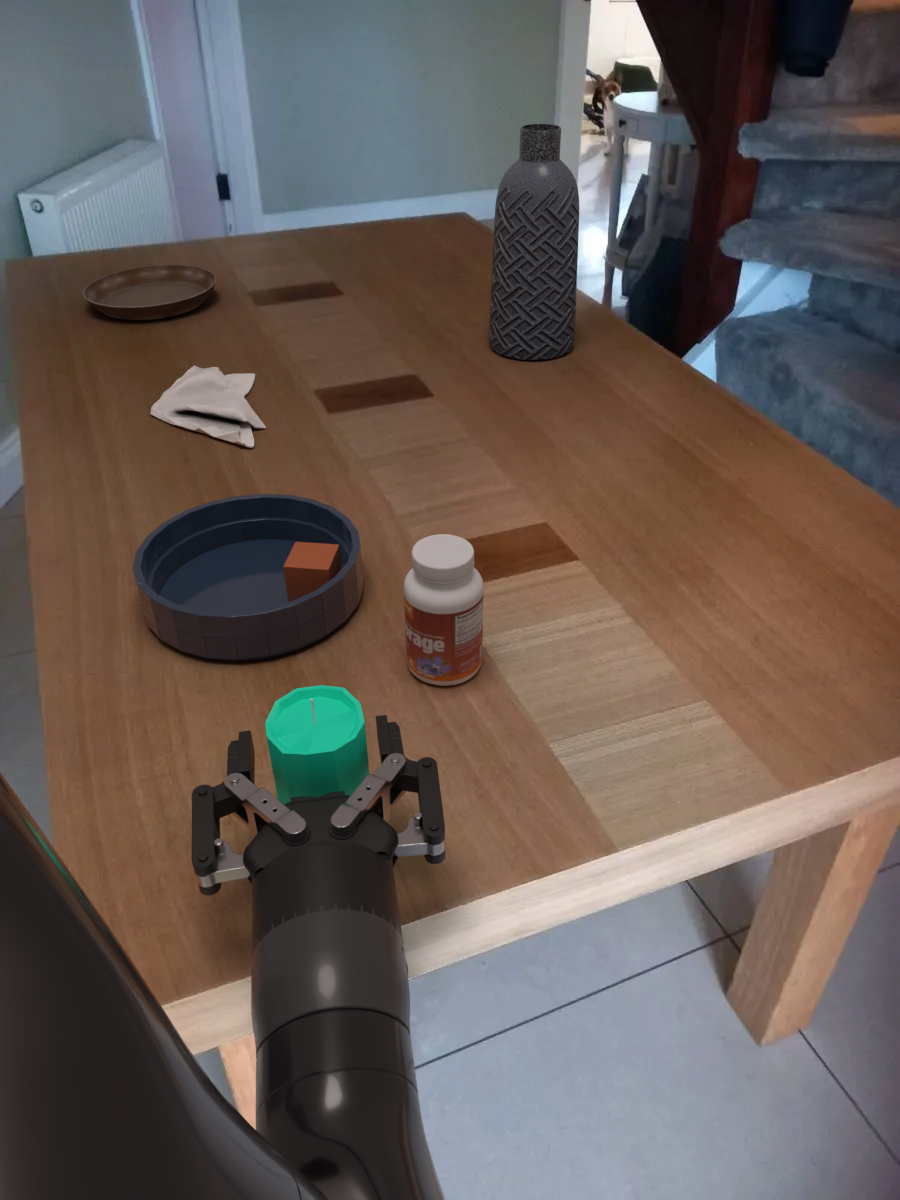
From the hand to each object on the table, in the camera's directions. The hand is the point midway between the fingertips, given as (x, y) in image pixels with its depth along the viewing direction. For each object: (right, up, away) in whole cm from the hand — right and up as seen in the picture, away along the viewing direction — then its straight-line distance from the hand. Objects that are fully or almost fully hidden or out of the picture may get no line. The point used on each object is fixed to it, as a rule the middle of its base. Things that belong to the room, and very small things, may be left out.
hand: (314, 732), depth 58 cm
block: (-3, +9, +24) cm, 26 cm away
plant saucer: (-39, +56, +90) cm, 113 cm away
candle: (+1, -7, +3) cm, 8 cm away
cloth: (-22, +32, +58) cm, 70 cm away
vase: (+20, +45, +73) cm, 88 cm away
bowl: (-9, +9, +25) cm, 28 cm away
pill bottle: (+8, +3, +17) cm, 19 cm away
